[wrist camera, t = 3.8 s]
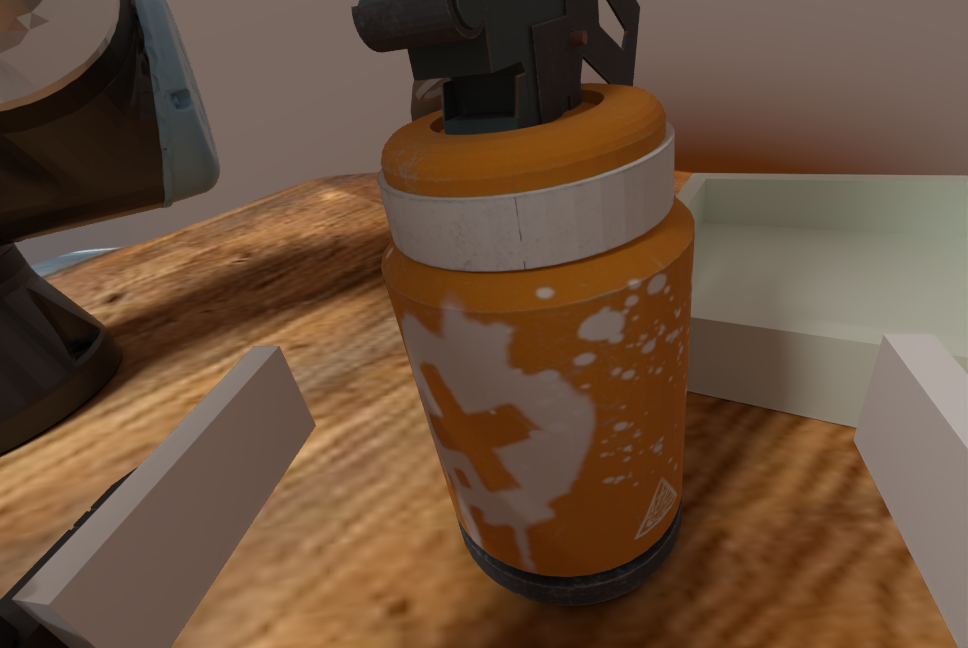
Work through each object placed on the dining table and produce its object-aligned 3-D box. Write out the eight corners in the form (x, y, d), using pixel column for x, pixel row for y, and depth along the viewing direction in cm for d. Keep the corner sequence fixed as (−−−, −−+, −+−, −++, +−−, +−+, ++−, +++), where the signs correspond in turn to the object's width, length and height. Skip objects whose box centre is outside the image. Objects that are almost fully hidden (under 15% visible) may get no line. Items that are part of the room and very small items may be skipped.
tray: (600, 372, 29) (596, 303, 27) (690, 227, 43) (693, 173, 40) (1133, 488, 19) (1204, 392, 16) (1029, 248, 32) (1059, 176, 30)
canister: (420, 554, 21) (196, -26, 11) (541, 389, 29) (479, -51, 18) (637, 666, 17) (615, -171, 6) (715, 434, 24) (767, -125, 13)
